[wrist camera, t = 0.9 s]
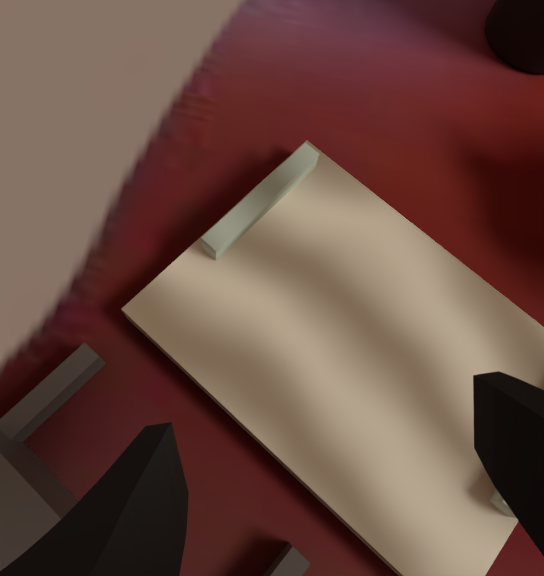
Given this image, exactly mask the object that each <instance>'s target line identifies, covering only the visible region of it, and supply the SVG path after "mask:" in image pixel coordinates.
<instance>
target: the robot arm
mask: <svg viewBox="0 0 544 576" xmlns="http://www.w3.org/2000/svg"><path fill="white" fill-rule="evenodd" d="M473 404H474V449H475V451H476V453H477V455H478V457H479V458H480V460H481V462H482V464H483V466H484V468H485V470H486V472H487V474H488V476H489V477H490V479H491V481H492V483H493V485H494V486H495V488H496V489H497V491H498V492H499V494H500V495H501V497H502V498H503V499H504V501H505V502H506V504H507V505H508V507H509V508H510V509H511V511H512V512H513V514H514V515H515V517H516V518H517V519H518V521H519V522H520V524H521V525H522V526H523V528H524V529H525V531H526V532H527V533H528V535H529V536H530V538H531V539H532V540H533V542H534V543H535V545H536V546H537V547H538V549H539V550H540V552H541V553H542V554H543V556H544V390H543V389H540V388H538V387H536V386H534V385H531V384H529V383H527V382H525V381H522V380H520V379H518V378H515V377H513V376H510V375H508V374H505V373H502V372H499V371H497V372H490V373H484V374H478V375H473ZM187 512H188V489H187V485H186V481H185V477H184V473H183V469H182V465H181V460H180V456H179V452H178V448H177V444H176V440H175V436H174V431H173V427H172V423H171V422H170V423H164V424H158V425H151V426H146V427H145V428H144V429H143V430H142V431H141V432H140V433H139V434H138V436H137V437H136V438H135V439H134V440H133V441H132V443H131V444H130V445H129V446H128V447H127V449H126V450H125V451H124V452H123V453H122V454H121V456H120V457H119V458H118V459H117V460H116V461H115V463H114V464H113V465H112V466H111V467H110V468H109V469H108V471H107V472H106V473H105V474H104V475H103V476H102V477H101V479H100V480H99V481H98V482H97V483H96V484H95V485H94V486H93V487H92V488H91V489H90V490H89V491H88V492H87V493H86V494H85V496H84V497H83V498H82V499H81V500H80V501H79V502H78V503H77V504H76V505H75V506H74V507H73V508H72V509H71V510H70V511H69V512H68V513H67V514H66V515H65V516H64V517H63V518H62V519H61V520H60V521H59V522H58V523H57V524H56V525H55V526H54V527H53V528H51V529H50V530H49V531H48V532H47V533H46V534H45V535H44V536H43V537H41V538H40V539H39V540H38V541H37V542H36V543H35V544H33V545H32V546H31V547H30V548H29V549H28V550H26V551H25V552H24V553H23V554H22V555H20V556H19V557H18V558H17V559H15V560H14V561H13V562H12V563H10V564H9V565H8V566H6V567H5V568H4V569H2V570H1V571H0V576H179V573H180V568H181V562H182V556H183V550H184V544H185V538H186V529H187Z"/></svg>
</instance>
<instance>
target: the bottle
mask: <svg viewBox="0 0 544 576" xmlns="http://www.w3.org/2000/svg"><path fill="white" fill-rule="evenodd" d="M486 34H487V37H488V40H489V43H490V45H491V46H492V47H493V49H494V50H495V51H496V53H497V54H498V55H499V56H500V57H501V58H502V59H504V60H505V61H506V62H507V63H509V64H511V65H513V66H515V67H517V68H519V69H521V70H523V71H528V72H532V73H537V74H541V73H544V0H497V1H496V2H495V4H494V6H493V8H492V9H491V11H490V13H489V15H488V16H487V19H486Z"/></svg>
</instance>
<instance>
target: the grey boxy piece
mask: <svg viewBox="0 0 544 576" xmlns="http://www.w3.org/2000/svg"><path fill="white" fill-rule="evenodd" d="M105 364H106V362H104V361H103V360H102V359H101V358H100V357H99V356H98V355H97V354H96V353H95V352H94V351H93V350H92V349H91V348H90V347H89V346H88V345H87V344H86V343H85V342H84V343H83V344H82V345H81V346H80V347H79V348H78V349H77V350H76V351H75V352H73V353H72V354H71V355H70V356H69V357H68V358H67V359H66V360H65V361H64V362H62V363H61V364H60V365H59V366H58V367H57V368H56V369H55V370H54V371H53V372H51V373H50V374H49V375H48V376H47V377H46V378H45V379H44V380H43V381H42V382H40V383H39V384H38V385H37V386H36V387H35V388H34V389H33V390H32V391H31V392H29V393H28V394H27V395H26V396H25V397H24V398H23V399H22V400H21V401H20V402H18V403H17V404H16V405H15V406H14V407H13V408H12V409H11V410H10V411H9V412H7V413H6V414H5V415H4V416H3V417H2V418H1V419H0V571H1V570H2V569H4V568H5V567H6V566H8V565H9V564H10V563H12V562H13V561H14V560H15V559H17V558H18V557H19V556H20V555H22V554H23V553H24V552H25V551H26V550H28V549H29V548H30V547H31V546H32V545H33V544H35V543H36V542H37V541H38V540H39V539H40V538H41V537H43V536H44V535H45V534H46V533H47V532H48V531H49V530H50V529H51V528H53V527H54V526H55V525H56V524H57V523H58V522H59V521H60V520H61V519H62V518H63V517H64V516H65V515H66V514H67V513H68V512H69V511H70V510H71V509H72V508H73V507H74V506H75V505H76V504H77V503H78V502H79V501H78V500H77V499H76V498H75V497H74V496H73V495H72V494H71V493H70V491H69V490H68V489H67V488H66V487H65V486H64V485H63V484H62V483H61V482H60V481H59V480H58V479H57V478H56V477H55V476H54V474H53V473H52V472H51V471H50V470H49V469H48V468H47V467H46V466H45V465H44V464H43V463H42V462H41V461H40V460H39V459H38V457H37V456H36V455H35V454H34V453H33V452H32V451H31V450H30V449H29V448H28V447H27V446H26V445H25V444H24V443H23V442H24V441H25V440H26V439H27V438H28V437H29V436H30V435H31V434H32V433H33V432H34V431H35V430H36V429H37V428H38V427H39V426H40V425H42V424H43V423H44V422H45V421H46V420H47V419H48V418H49V417H50V416H51V415H52V414H53V413H54V412H55V411H56V410H57V409H58V408H60V407H61V406H62V405H63V404H64V403H65V402H66V401H67V400H68V399H69V398H70V397H71V396H72V395H73V394H74V393H75V392H77V391H78V390H79V389H80V388H81V387H82V386H83V385H84V384H85V383H86V382H87V381H88V380H89V379H90V378H91V377H92V376H93V375H95V374H96V373H97V372H98V371H99V370H100V369H101V368H102V367H103V366H104V365H105ZM309 566H310V563H309V561H308V560H307V559H306V558H305V557H303V556H302V555H301V554H300V553H299V552H298V551H297V550H296V549H295V548H294V547H293V546H292V545H291V544H290V543H289V542H288V543H287V545H286V546H285V547H284V549H283V550H282V551H281V552H280V554H279V555H278V556H277V558H276V559H275V560H274V561H273V563H272V564H271V565H270V567H269V568H268V569H267V570H266V572H265V573H264V574H263V576H302V575H303V574H304V572H305V571H306V570H307V568H308V567H309Z"/></svg>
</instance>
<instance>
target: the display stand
mask: <svg viewBox="0 0 544 576" xmlns="http://www.w3.org/2000/svg"><path fill="white" fill-rule="evenodd" d="M121 310H122V311H123V313H124V314H125V316H126V318H127V319H128V320H129V321H130V322H131V323H132V324H133V325H134V326H136V327H137V328H138V329H139V330H140V331H141V332H142V333H143V334H144V335H145V336H146V337H147V338H148V339H149V340H150V341H151V342H152V343H153V344H155V345H156V346H157V347H158V348H159V349H160V350H161V351H162V352H163V353H164V354H165V355H166V356H167V357H168V358H169V359H170V360H171V361H172V362H174V363H175V364H176V365H177V366H178V367H179V368H180V369H181V370H182V371H183V372H184V373H185V374H186V375H187V376H188V377H189V378H190V379H191V380H193V381H194V382H195V383H196V384H197V385H198V386H199V387H200V388H201V389H202V390H203V391H204V392H205V393H206V394H207V395H208V396H209V397H210V398H212V399H213V400H214V401H215V402H216V403H217V404H218V405H219V406H220V407H221V408H222V409H223V410H224V411H225V412H226V413H227V414H228V415H229V416H230V417H232V418H233V419H234V420H235V421H236V422H237V423H238V424H239V425H240V426H241V427H242V428H243V429H244V430H245V431H246V432H247V433H248V434H249V435H251V436H252V437H253V438H254V439H255V440H256V441H257V442H258V443H259V444H260V445H261V446H262V447H263V448H264V449H265V450H266V451H267V452H268V453H270V454H271V455H272V456H273V457H274V458H275V459H276V460H277V461H278V462H279V463H280V464H281V465H282V466H283V467H284V468H285V469H286V470H287V471H289V472H290V473H291V474H292V475H293V476H294V477H295V478H296V479H297V480H298V481H299V482H300V483H301V484H302V485H303V486H304V487H305V488H306V489H308V490H309V491H310V492H311V493H312V494H313V495H314V496H315V497H316V498H317V499H318V500H319V501H320V502H321V503H322V504H323V505H324V506H325V507H327V508H328V509H329V510H330V511H331V512H332V513H333V514H334V515H335V516H336V517H337V518H338V519H339V520H340V521H341V522H342V523H343V524H344V525H346V526H347V527H348V528H349V529H350V530H351V531H352V532H353V533H354V534H355V535H356V536H357V537H358V538H359V539H360V540H361V541H362V542H363V543H365V544H366V545H367V546H368V547H369V548H370V549H371V550H372V551H373V552H374V553H375V554H376V555H377V556H378V557H379V558H380V559H381V560H382V561H384V562H385V563H386V564H387V565H388V566H389V567H390V568H391V569H392V570H393V571H394V572H395V573H396V574H397V575H398V576H485V575H486V573H487V572H488V570H489V568H490V567H491V565H492V563H493V562H494V560H495V558H496V557H497V555H498V554H499V552H500V550H501V549H502V547H503V545H504V544H505V542H506V540H507V539H508V537H509V536H510V534H511V532H512V531H513V529H514V527H515V526H516V524H517V522H518V519H517V518H516V517H515V515H514V514H513V512H512V511H511V509H510V508H509V507H508V505H507V504H506V502H505V501H504V499H503V498H502V497H501V495H500V494H499V492H498V491H497V489H496V488H495V486H494V485H493V483H492V481H491V479H490V477H489V476H488V474H487V472H486V470H485V468H484V466H483V464H482V462H481V460H480V458H479V457H478V455H477V453H476V451H475V449H474V404H473V375H478V374H484V373H490V372H497V371H499V372H502V373H505V374H508V375H510V376H513V377H515V378H518V379H520V380H522V381H525V382H527V383H529V384H531V385H534V386H536V387H538V388H540V389H543V390H544V327H543V326H541V325H540V324H539V323H538V322H536V321H535V320H534V319H533V318H531V317H530V316H529V315H528V314H526V313H525V312H524V311H522V310H521V309H520V308H519V307H517V306H516V305H515V304H514V303H512V302H511V301H510V300H509V299H507V298H506V297H505V296H503V295H502V294H501V293H500V292H498V291H497V290H496V289H495V288H493V287H492V286H491V285H489V284H488V283H487V282H486V281H484V280H483V279H482V278H481V277H479V276H478V275H477V274H476V273H474V272H473V271H472V270H470V269H469V268H468V267H467V266H465V265H464V264H463V263H462V262H460V261H459V260H458V259H457V258H455V257H454V256H453V255H451V254H450V253H449V252H448V251H446V250H445V249H444V248H443V247H441V246H440V245H439V244H438V243H436V242H435V241H434V240H432V239H431V238H430V237H429V236H427V235H426V234H425V233H424V232H422V231H421V230H420V229H419V228H417V227H416V226H415V225H413V224H412V223H411V222H410V221H408V220H407V219H406V218H405V217H403V216H402V215H401V214H400V213H398V212H397V211H396V210H394V209H393V208H392V207H391V206H389V205H388V204H387V203H386V202H384V201H383V200H382V199H381V198H379V197H378V196H377V195H375V194H374V193H373V192H372V191H370V190H369V189H368V188H367V187H365V186H364V185H363V184H362V183H360V182H359V181H358V180H356V179H355V178H354V177H353V176H351V175H350V174H349V173H348V172H346V171H345V170H344V169H343V168H341V167H340V166H339V165H337V164H336V163H335V162H334V161H332V160H331V159H330V158H329V157H327V156H326V155H325V154H323V153H322V152H321V151H320V150H318V149H317V148H316V147H315V146H313V145H312V144H311V143H310V142H308V141H306V142H304V143H303V144H302V145H301V146H300V147H299V148H298V149H297V150H296V151H295V152H293V153H292V154H291V155H290V156H289V157H288V158H287V159H286V160H285V161H284V162H282V163H281V164H280V165H279V166H278V167H277V168H276V169H275V170H274V171H273V172H271V173H270V174H269V175H268V176H267V177H266V178H265V179H264V180H263V181H262V182H260V183H259V184H258V185H257V186H256V187H255V188H254V189H253V190H252V191H251V192H249V193H248V194H247V195H246V196H245V197H244V198H243V199H242V200H241V201H240V202H238V203H237V204H236V205H235V206H234V207H233V208H232V209H231V210H230V211H229V212H227V213H226V214H225V215H224V216H223V217H222V218H221V219H220V220H219V221H218V222H216V223H215V224H214V225H213V226H212V227H211V228H210V229H209V230H208V231H207V232H205V233H204V234H203V235H202V236H201V237H200V238H199V239H198V240H197V241H196V242H194V243H193V244H192V245H191V246H190V247H189V248H188V249H187V250H186V251H185V252H183V253H182V254H181V255H180V256H179V257H178V258H177V259H176V260H175V261H174V262H172V263H171V264H170V265H169V266H168V267H167V268H166V269H165V270H164V271H163V272H161V273H160V274H159V275H158V276H157V277H156V278H155V279H154V280H153V281H152V282H150V283H149V284H148V285H147V286H146V287H145V288H144V289H143V290H142V291H141V292H139V293H138V294H137V295H136V296H135V297H134V298H133V299H132V300H131V301H130V302H128V303H127V304H126V305H125V306H124V307H123V308H122V309H121Z"/></svg>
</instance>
